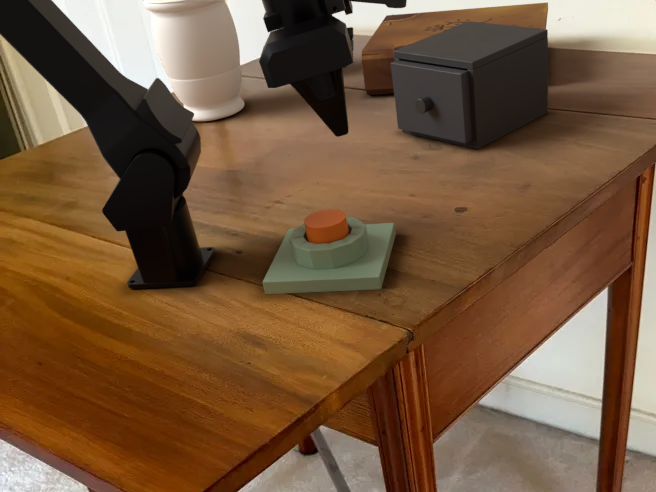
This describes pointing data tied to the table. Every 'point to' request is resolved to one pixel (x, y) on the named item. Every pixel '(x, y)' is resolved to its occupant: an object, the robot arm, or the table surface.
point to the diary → (422, 25)
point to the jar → (199, 54)
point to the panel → (332, 260)
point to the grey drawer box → (491, 74)
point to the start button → (326, 226)
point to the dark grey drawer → (433, 100)
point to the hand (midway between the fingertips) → (342, 134)
